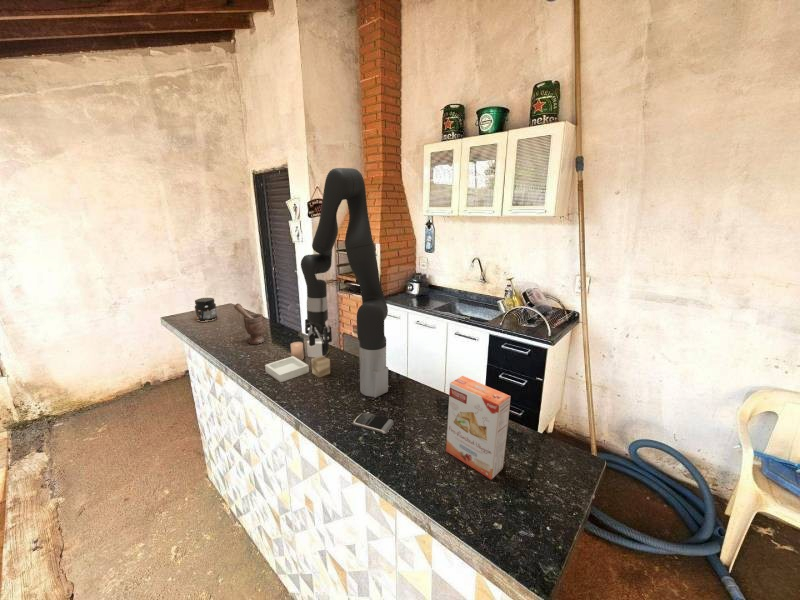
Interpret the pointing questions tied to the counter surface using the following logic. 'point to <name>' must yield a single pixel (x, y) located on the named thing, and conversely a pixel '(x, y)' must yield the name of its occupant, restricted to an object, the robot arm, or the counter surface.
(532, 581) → the counter surface
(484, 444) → the cracker box
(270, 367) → the white tray
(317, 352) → the medicine bottle
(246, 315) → the mortar and pestle
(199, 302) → the supplement container
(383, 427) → the cell phone
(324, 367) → the maple block
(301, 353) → the peach rounded capsule
